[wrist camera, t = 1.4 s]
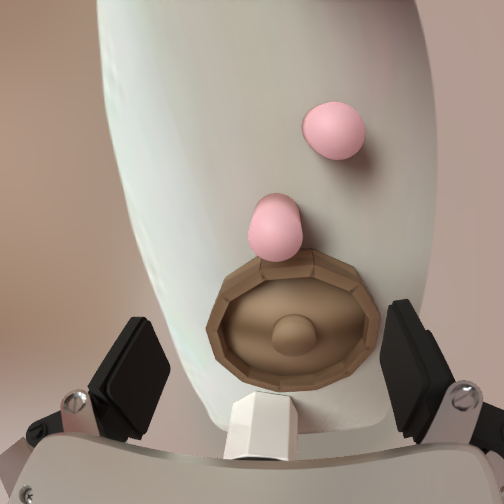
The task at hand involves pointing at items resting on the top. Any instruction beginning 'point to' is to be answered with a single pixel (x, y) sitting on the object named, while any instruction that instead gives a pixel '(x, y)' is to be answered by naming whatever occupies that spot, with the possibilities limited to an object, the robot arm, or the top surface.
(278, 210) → the bead
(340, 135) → the bead
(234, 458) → the jar
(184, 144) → the top surface
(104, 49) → the top surface
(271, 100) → the top surface
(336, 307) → the tray
